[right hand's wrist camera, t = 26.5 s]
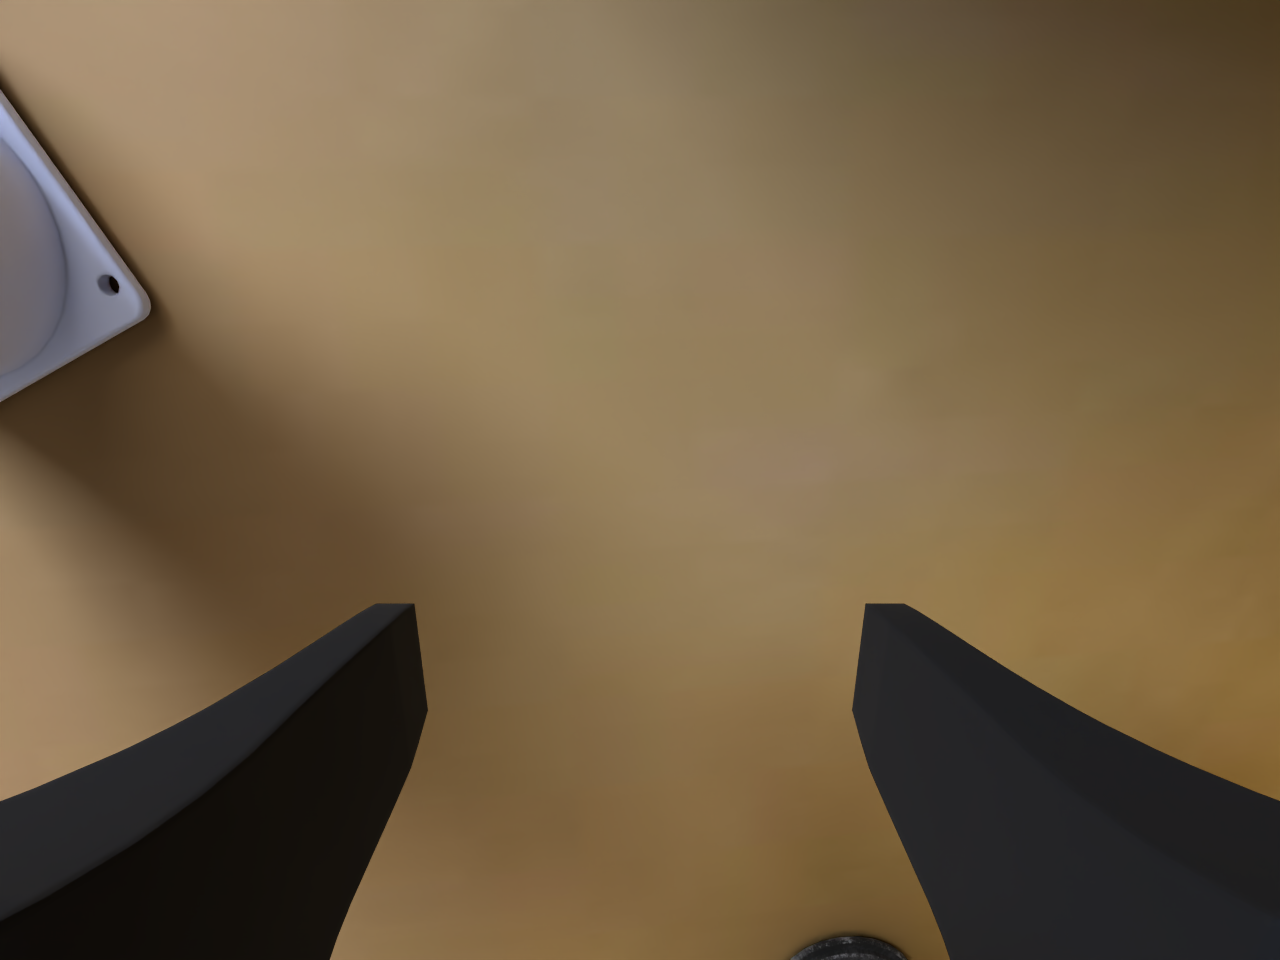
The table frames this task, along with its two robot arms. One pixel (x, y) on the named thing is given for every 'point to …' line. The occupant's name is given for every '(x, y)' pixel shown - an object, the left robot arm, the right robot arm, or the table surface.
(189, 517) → the table surface
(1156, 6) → the table surface
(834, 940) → the grey tall tapered piece
